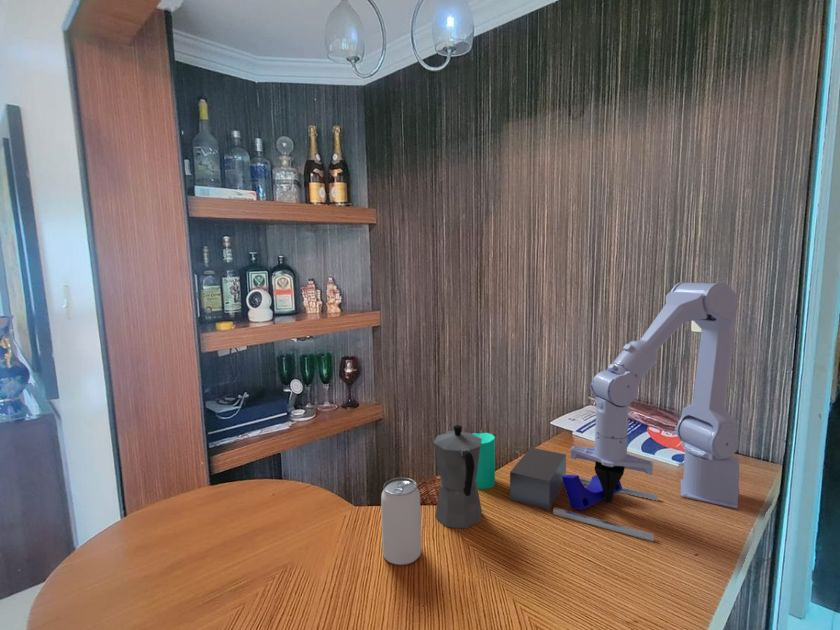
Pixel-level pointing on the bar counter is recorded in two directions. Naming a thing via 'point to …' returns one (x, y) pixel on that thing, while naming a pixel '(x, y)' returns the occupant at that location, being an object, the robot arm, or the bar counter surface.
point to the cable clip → (584, 491)
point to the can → (401, 521)
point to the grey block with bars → (558, 488)
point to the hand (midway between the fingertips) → (608, 500)
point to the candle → (486, 461)
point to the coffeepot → (458, 478)
